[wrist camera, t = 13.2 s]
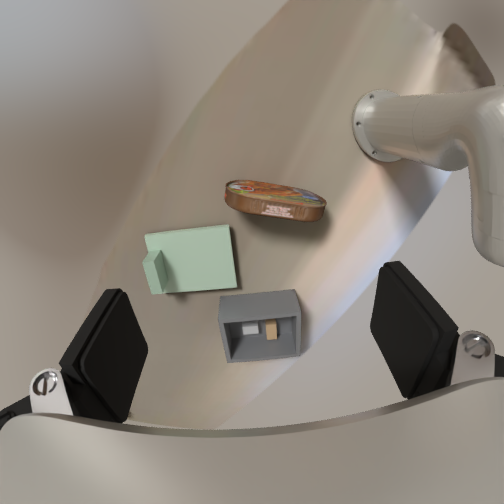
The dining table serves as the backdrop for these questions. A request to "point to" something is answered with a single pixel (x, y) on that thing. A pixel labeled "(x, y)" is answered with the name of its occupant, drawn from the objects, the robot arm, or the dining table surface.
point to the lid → (190, 260)
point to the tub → (260, 326)
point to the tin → (274, 200)
